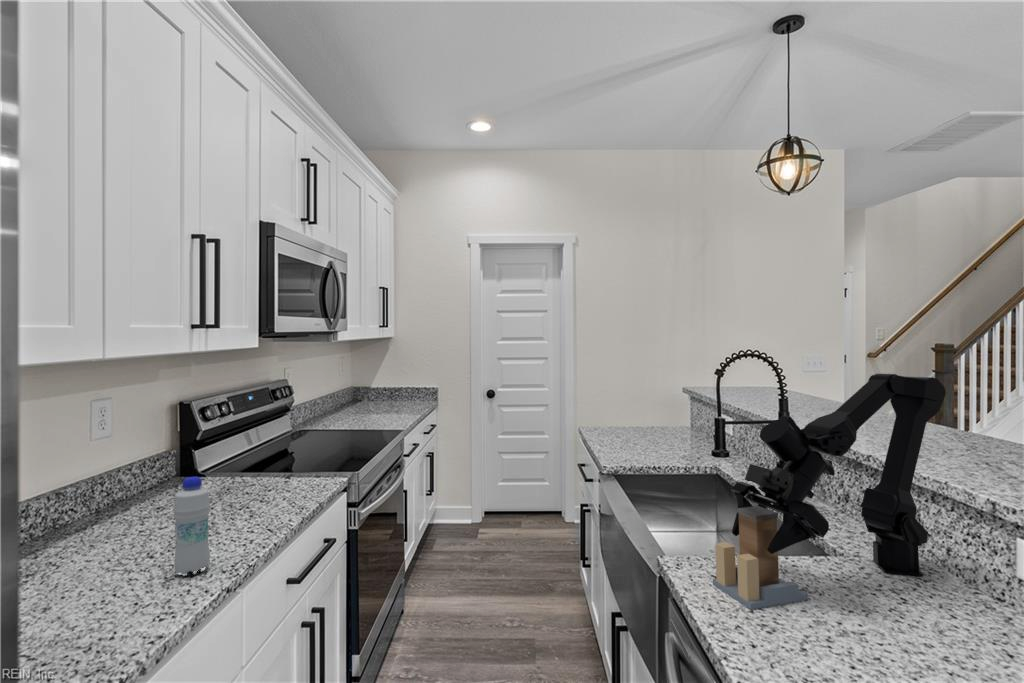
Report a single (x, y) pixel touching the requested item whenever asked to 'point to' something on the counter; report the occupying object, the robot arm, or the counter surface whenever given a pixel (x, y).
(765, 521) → the rail end
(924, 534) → the robot arm
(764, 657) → the counter surface
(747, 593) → the base with wooden posts
